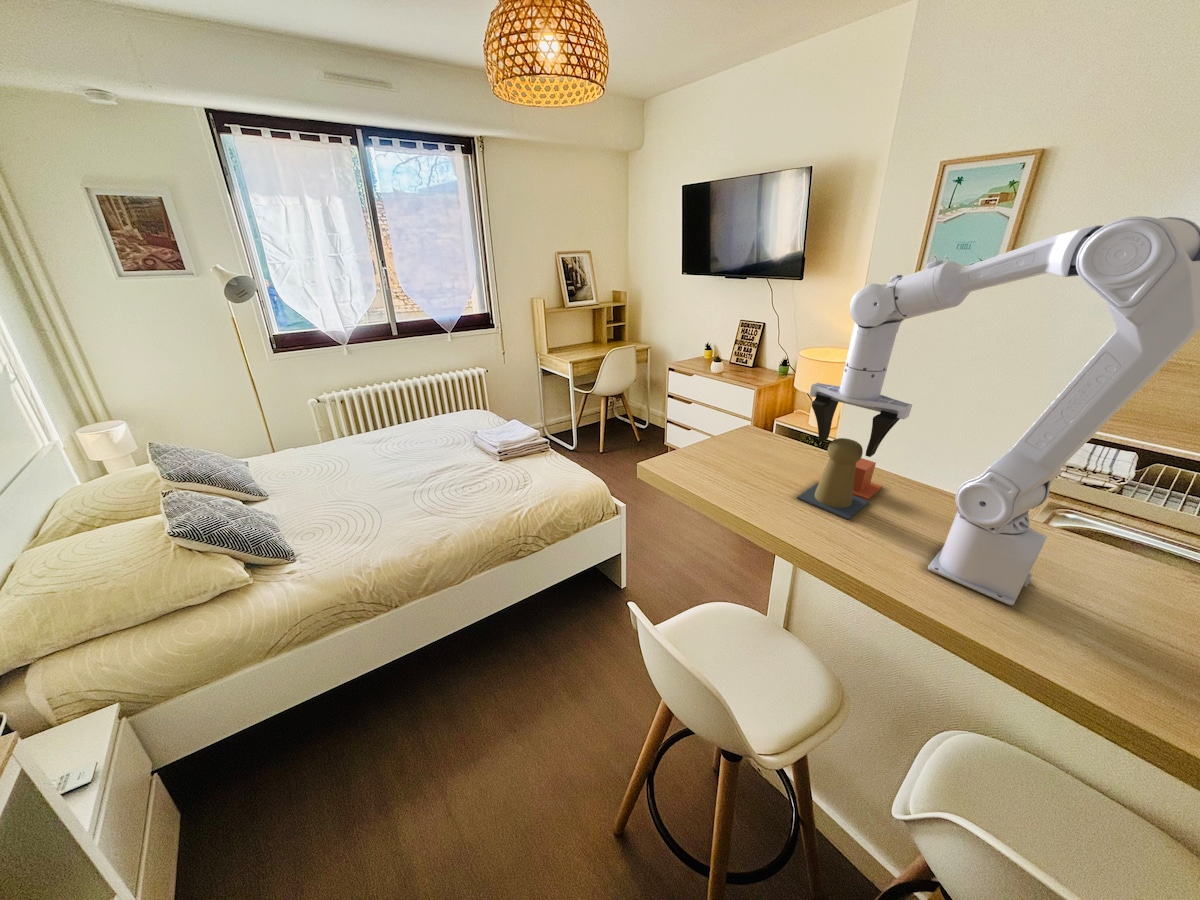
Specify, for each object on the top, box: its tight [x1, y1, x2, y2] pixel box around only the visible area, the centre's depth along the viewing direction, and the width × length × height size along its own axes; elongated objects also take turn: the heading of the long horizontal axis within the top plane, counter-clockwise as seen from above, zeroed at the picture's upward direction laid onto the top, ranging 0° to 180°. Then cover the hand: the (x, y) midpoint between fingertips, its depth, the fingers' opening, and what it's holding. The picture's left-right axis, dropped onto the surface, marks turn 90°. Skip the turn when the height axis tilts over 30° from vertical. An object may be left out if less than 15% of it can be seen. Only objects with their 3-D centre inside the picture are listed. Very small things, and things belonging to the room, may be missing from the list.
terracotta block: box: [853, 457, 877, 492], centre depth 85 cm, size 4×4×4 cm
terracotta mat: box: [853, 481, 883, 501], centre depth 86 cm, size 8×6×1 cm
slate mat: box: [796, 481, 870, 521], centre depth 81 cm, size 9×8×1 cm
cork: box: [814, 437, 864, 508], centre depth 79 cm, size 6×6×11 cm
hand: (845, 447), depth 77 cm, fingers open, 7 cm apart
